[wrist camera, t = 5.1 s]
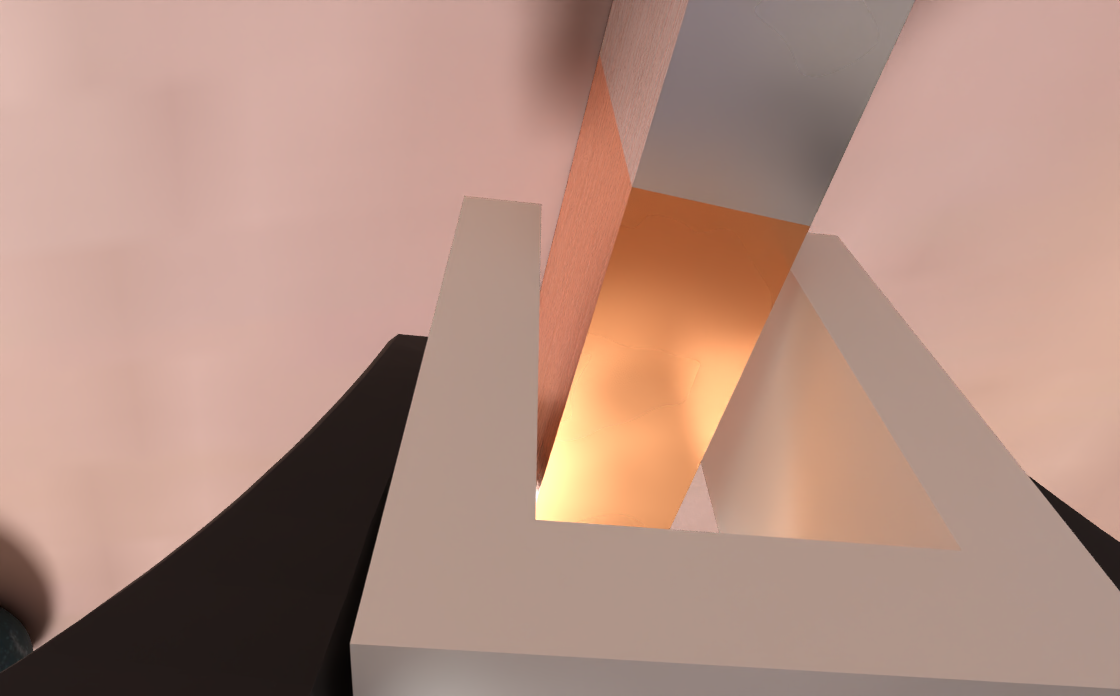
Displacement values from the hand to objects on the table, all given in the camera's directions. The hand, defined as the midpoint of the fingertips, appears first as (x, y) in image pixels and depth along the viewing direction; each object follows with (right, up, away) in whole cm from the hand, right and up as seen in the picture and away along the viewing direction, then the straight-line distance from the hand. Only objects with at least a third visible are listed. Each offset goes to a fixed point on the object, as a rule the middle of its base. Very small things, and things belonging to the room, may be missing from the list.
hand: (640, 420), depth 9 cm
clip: (0, +1, +1) cm, 2 cm away
